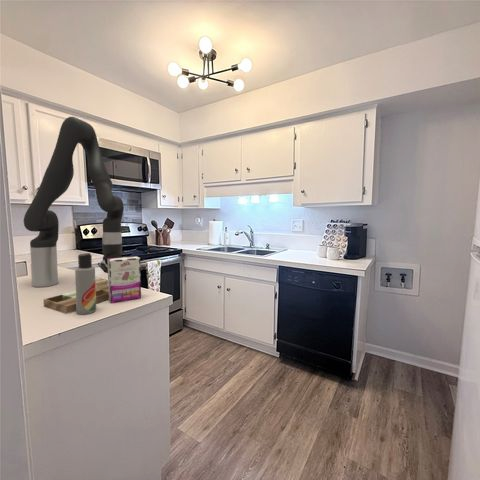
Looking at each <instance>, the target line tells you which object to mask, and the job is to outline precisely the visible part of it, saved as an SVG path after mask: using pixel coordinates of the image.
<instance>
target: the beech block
mask: <svg viewBox="0 0 480 480" xmlns="http://www.w3.org/2000/svg"><path fill="white" fill-rule="evenodd" d="M95 287H96V290H99V289H102V288H106V287H108V279H105V278H104V279H103V278H100V277H99V278H95Z"/></svg>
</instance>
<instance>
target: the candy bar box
mask: <svg viewBox="0 0 480 480" xmlns="http://www.w3.org/2000/svg"><path fill="white" fill-rule="evenodd" d="M141 278H142V277H141V257H139V256H122V258H111V259H108V273H107V280H108V289H109V300H108V301H109V303H111V304H114V303H115V304H116V303H121V302H126V301H131V300H132V301H133V300H138V299H141V298H142V285H141V284H142V282H141V280H142V279H141Z"/></svg>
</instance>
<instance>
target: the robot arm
mask: <svg viewBox="0 0 480 480" xmlns="http://www.w3.org/2000/svg"><path fill="white" fill-rule="evenodd" d="M78 145H81V146H82V149H83V151H84V152H85V155H86V157H87V158H86V159H87V172H88V175H89V177H90V180H91V183H92V185H93V187H94V190H95V195H96V200H97V204H98V207H100V209H101V210H102V211H103V212H106V213H107V214H106V217H105V218H104V219H103V221H102V236H101V237H102V244H101V245H102V255H103V257H102V260H101V261H100V262H98V263H97V266H98V267H99V268H100V269H101V270H102V271H103V273H105V274H108V259H111V258H123V256H122V253H123V236H122V235H123V234H122V220H123V216H124V215H123V214H124V201H123V199H122V198H121V197H119V196H117V195H114V193H113V191H112V189H113V188H114V184H113V182H112V180H111V177H110V175H109V174H110V173H109V172H108V171H107V168H106V165H105V163H104V160H103V156H102V152H101V148H100V146H99V141H98V137H97V133H96V130H95V128H94V127H93V126H92V125H91V124H90V123H88V122H87V121H85V120H82V119H80V118H78V117H75V116H68V117H66V118H65V119H64V120H63V122H62V123H61V126H60V129H59V131H58V136H57V140H56V144H55V148H54V150H53V152H52V155H51V159H50V161H49V163H48V165H47V166H46V169H45V172H44V174H43V177H42V179H41V183H40V184H39V187H38V189H37V191H36V194H35V196H34V198H33V199H32V201H31V203H30V204H29V207H28V208H27V209H26V212H25V214H24V217H23V225H24V228H25V229H26V230H27V231H30V232H34V233H35V232H38V233H39V234H38V235H37V236H35V237H34V238H33V239H31V240H30V242H29V245H30V247H29V249H30V270H31V271H30V272H31V275H30V276H31V285H32V287H34V288H35V287H36V288H44V287H45V288H46V287H52V286H55V285H57V284H59V276H58V275H59V271H58V253H57V251H58V248H57V247H58V246H57V243H58V240H59V231H60V230H59V228H60V225H59V224H60V223H59V217H58V215H57V214H56V212H55V211H52V210H49V209H50V208H51V205H53V203H54V202H55V201H56V200H58V199H59V198H60V197H61V196H63V195H64V193H66V191H68V190H69V187H70V186H71V183H72V180H73V178H74V173H75V171H74V170H75V169H74V162H73V156H74V152H75V150H76V148H77V146H78Z"/></svg>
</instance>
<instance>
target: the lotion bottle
mask: <svg viewBox="0 0 480 480" xmlns="http://www.w3.org/2000/svg"><path fill="white" fill-rule="evenodd" d="M92 256H93V255H92V254H91V252H90V253H89V252H87V253H80V254H78V256H77V262H78V263H77V265H78V267H76V268H74V269H75V271H74V275H75V291H76V309H77V310H76V313H77V314H78V315H89V314H90V315H91V314H92V313H94V312H95V311H96V310H97V304H96V287H95V279H96V267H95V266H92V261H93V259H92Z"/></svg>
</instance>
